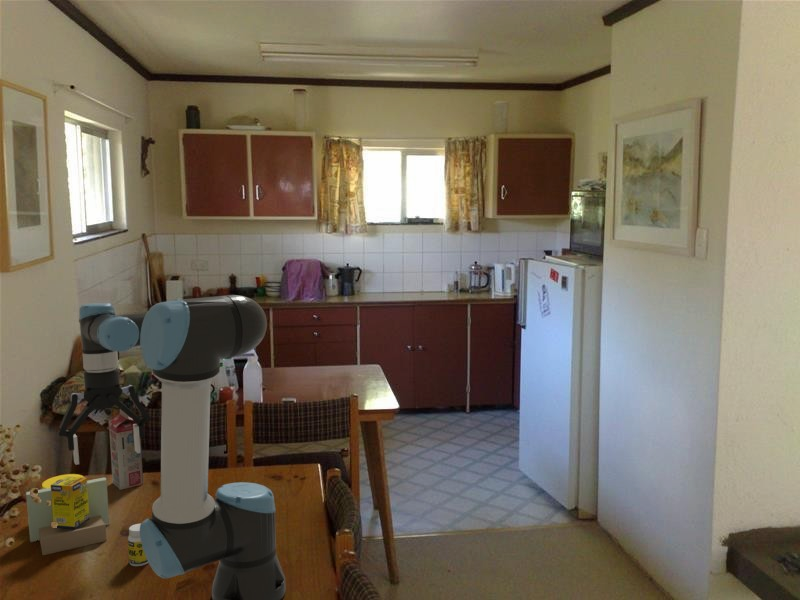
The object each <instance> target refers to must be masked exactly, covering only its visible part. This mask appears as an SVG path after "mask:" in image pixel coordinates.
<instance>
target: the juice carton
mask: <svg viewBox="0 0 800 600" xmlns="http://www.w3.org/2000/svg"><path fill="white" fill-rule="evenodd" d="M133 424H137V423H136V422H135V421H134V420H133V419H131V418H130V417H129V416H128V415H127V414H126V413H124V412H123V411H122V410H121V409H120V408H119V414H118V415H116V416H114V417H113V418H112V419H111V420H110V421H108V426H109V428H108V429H109V444H110V458H111V459H110V460H111V462H110V463H111V475H112V476H111V477H112V484H113V485H114V486H115V487H117V489H118V490H120V491H121V490H126V489H130V488H132V487H138V486H141V485H144V474H143V456H142V453H143V452H142V438H140V452H141V453H137V452H136V451H135V445H134V431H133Z"/></svg>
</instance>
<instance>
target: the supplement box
mask: <svg viewBox="0 0 800 600" xmlns="http://www.w3.org/2000/svg"><path fill="white" fill-rule="evenodd" d="M87 481H88V478H87V477H85V476H83V477H70V476H66V477H65V478H63V479H62V480H60V481H58V482H56V483H54V484H51V498H52V511H53V522H57V523H58V526H57V528H61V529H76V528H77V527H79V526H80V525H82V524H83V523H85V522H86V521H88V520H89V504H88V490H87Z"/></svg>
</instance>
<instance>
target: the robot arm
mask: <svg viewBox="0 0 800 600" xmlns="http://www.w3.org/2000/svg"><path fill="white" fill-rule="evenodd" d="M78 317H79V318H78V323H79V329H80V338H81V341H80V343H81V350H82V352H81V353H82V365H83V366H82V367H83V370H85V371H84V372H83V379H84V381H83V382H84V392H81V393H80V392H79V393H76V392H71V393H70V396H69V398H70V400H69V404H68V407H67V408H66V411H65V413H64V414H63V417H62V419H61V422H60V425H59V426H58V429H57V433H58V435H59V436H60V437H65V438H66V443H67V449H68V450H69V451H72V453H73V454H72V455H73V462H74V464H75V466H76V465H80V456H79V446H78V445H79V444H78V442H79V441H78V435H76V432H77V431H78V430H79V428H81V426H82V425H83V424H84V422H85V421H86V419H87V418H88V417H89V415H90V414H92V412H93V411H94V409H95V410H97V411H99V410H103V409H112V408H113V407H115V406H116V407H117V408H119V410H120V409H121V410H122V411H123V412H124V413H126V414H127V415H128V416H129V417H130V418H131V419H133V420H134V421H135V422H136V423H137V424H133V431H134V445H135V451H136V452H137V453H141V452H142V451H141V452H140V438H141V439H142V438H144V436H145V434H144V425H145V423H147V422H150V421H151V419H152V418H151V416H150V415H149V413H148V412H147V410H146V408H145V407H144V406H143V404H142V402H141V401H140V400H139V398H138V396H137V395H136V391H135V387H134V386H133V385H132V384H127V386H123V387H122V386H121V385H120V384H121V383H120V371H119V369H118V368H117V367H118V366H119V359H118V357H119V356H118V352H126V351H128V350H130V349H132V348H135V347H136V348H137V347H140V348H141V350H142V351H141V356H142V359H143V361H144V364H145V366H147V367H148V368H149V369H151V370H152V374H153V376H154V377H155V378H156V379H158V380H159V381H160V382H161V419H160V421H161V425H160V426H161V430H160V431H161V433H160V434H161V436H160V438H161V440H160V496H159V497H158V498H157V499H156V500H154V502H153V504H152V507H151V517H150V518H146V519H145V520H143V521H142V522H141V525H140V538H141V543H142V547H143V550H144V553H145V556H146V558H147V560H148V562H149V563H148V564H149V566H150V568H151V569H152V571H153V572H154V573H155V575H157V576H158V577H159V578H160V579H161V578H162V579H170V578H174V577H177V576H179V575H180V576H183V575H185V573H188V572H191V571H193V570H196V569H198V568H201V567H205V566H207V565H211V564H212V563H215V562H217V561H218V566H217V568H216V572H215V574H214V579H213V581H212V584H211V585H212V587H211V599H212V600H282V599H283V597H284V596H285V594H286V591H287V589H286V586H287V585H286V577H285V574H284V572H283V569H282V567H281V563H280V561H279V559H278V556H277V540H276V539H277V536H276V511H277V508H276V505H275V503H276V502H275V497H274V496H275V495H274V494H273V492H272V490H271V489H270V488H268V487H267V486H265V485H263V484H259V483H255V482H247V481H245V482H243V481H240V482H231V483H225V484H222V485H220V486H219V487H218V488H217V489H216V492H215V495H214V496H215V498H214V497H213V496H212V495H210V494H209V493H208V489H209V488H208V487H209V460H210V459H209V457H210V456H209V453H210V452H209V451H210V447H209V446H210V425H211V424H210V420H211V418H210V416H211V415H210V414H211V392H212V391H211V388H212V387H211V385H212V384H211V382H212V381H213V380H214V379H215V378H217V376H218V375H219V374H220V366H221V360H223V359H229V358H233V357H239V356H242V355H245V354H247V353H249V352H251V351H252V350H254V349H255V348H257V346H258V345H260V343H261V342H262V341H263V339H264V337H265V335H266V332H267V328H268V327H267V326H268V321H267V316H266V313H265V311H264V309H263V308H262V306H260V304H259V303H258V302H257V301H255V300H254V299H252V298H249V297H247V296H244V295H239V294H238V295H237V294H227V295H224V294H223V295H219V296H218V295H217V296H206V297H196V298H195V297H194V298H184V299H183V298H182V299H180V298H177V299H172V300H169V301H162V302H158V303H156V304H154V305H152V306H151V307H150V308H149V310H148V311H146V312H135V313H134V312H133V313H126V314H118V315H117V314H116V313H115V307H114V305H113V304H112V303H110V302H97V303H96V302H95V303H86V304H83V305H81V306H80V307H79V316H78ZM123 393H124V395H126V396H129V398H130V400H131V401H132V403H133V404H134V406H135V407H136V408H137V410H138V412H139V413H140V415H141V417H139V416H138V415H136V414H135V413H134V412H133V411H132V410H131V409H129V408H128V406H127V405H125V404H124V403H123V402H122V401H120V400H119V399H120V398H121V396H122V394H123ZM83 399H84V400H85V401H86V402H87V403H86V404H85V405H84V407H83V409H82V410H81V411H80V413H79V415H77V417H76V418H75V420H74V421H73V422H72V423H71V425H70V422H71V420H72V418H73V416H74V414H75V411H76V409H77V407H78V404H79V403H81V401H82V400H83ZM69 425H70V426H69Z"/></svg>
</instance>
